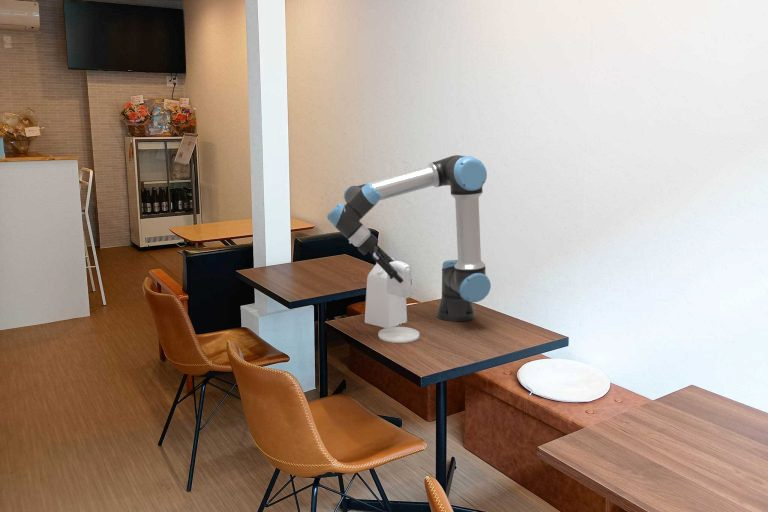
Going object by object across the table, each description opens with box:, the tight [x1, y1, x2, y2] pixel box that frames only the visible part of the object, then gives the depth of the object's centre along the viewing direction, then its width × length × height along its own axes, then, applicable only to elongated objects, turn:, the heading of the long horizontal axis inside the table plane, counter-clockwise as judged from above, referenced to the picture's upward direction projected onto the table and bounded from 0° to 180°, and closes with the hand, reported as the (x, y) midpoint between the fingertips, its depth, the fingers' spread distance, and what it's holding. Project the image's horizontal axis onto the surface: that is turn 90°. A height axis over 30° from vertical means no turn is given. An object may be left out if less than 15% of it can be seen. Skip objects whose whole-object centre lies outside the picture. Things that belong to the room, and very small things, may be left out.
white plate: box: [377, 326, 420, 344], centre depth 239 cm, size 15×15×1 cm
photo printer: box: [387, 260, 412, 299], centre depth 234 cm, size 10×4×12 cm, turn 39°
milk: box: [364, 256, 408, 329], centre depth 254 cm, size 12×12×26 cm
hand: (408, 284), depth 235 cm, fingers closed on photo printer, 9 cm apart
